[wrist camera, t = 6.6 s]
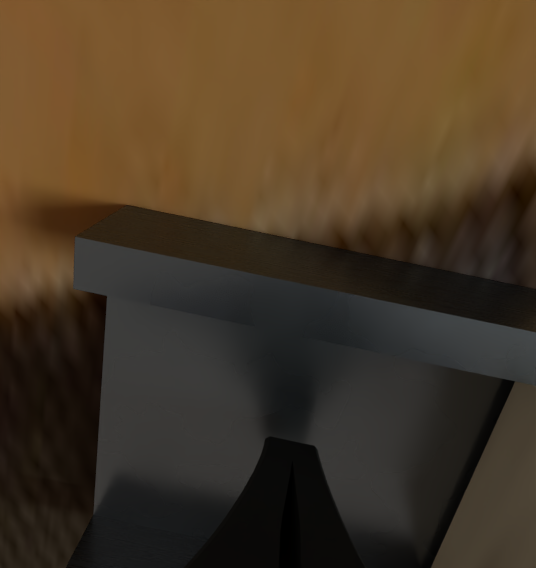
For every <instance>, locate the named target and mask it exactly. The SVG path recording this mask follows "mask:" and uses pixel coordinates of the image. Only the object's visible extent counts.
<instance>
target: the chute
mask: <svg viewBox="0 0 536 568" xmlns="http://www.w3.org/2000/svg"><path fill="white" fill-rule="evenodd" d="M73 289H77V290H81V291H86V292H91V293H96V294H101V295H105V296H107V307H106V323H105V339H104V355H103V371H102V386H101V402H100V418H99V434H98V450H97V466H96V482H95V497H94V513H93V517H92V519H91V520H90V522H89V524H88V526H87V528H86V530H85V532H84V534H83V536H82V538H81V540H80V541H79V543H78V545H77V547H76V549H75V551H74V553H73V555H72V557H71V559H70V561H69V562H68V564H67V566H66V568H184V567H185V566H186V564H187V563H188V562H189V561H190V560H191V559H192V558H193V557H194V556H195V554H196V553H197V552H198V551H199V550H200V549H201V547H202V546H203V545H204V544H205V543H206V542H207V540H208V539H209V538H210V537H211V535H212V534H213V533H214V532H215V530H216V529H217V528H218V526H219V525H220V524H221V522H222V521H223V520H224V518H225V517H226V515H227V514H228V512H229V511H230V509H231V508H232V506H233V505H234V503H235V502H236V500H237V499H238V497H239V496H240V494H241V493H242V491H243V489H244V487H245V486H246V484H247V482H248V480H249V478H250V477H251V475H252V473H253V471H254V469H255V467H256V465H257V463H258V460H259V458H260V456H261V453H262V450H263V446H264V441H265V439H266V438H268V437H270V436H271V437H276V438H281V439H285V440H290V441H295V442H299V443H304V444H309V445H313V446H315V447H316V448H317V450H318V454H319V457H320V461H321V464H322V468H323V471H324V474H325V477H326V480H327V483H328V486H329V488H330V491H331V494H332V496H333V499H334V501H335V504H336V506H337V508H338V511H339V513H340V516H341V518H342V520H343V522H344V525H345V527H346V529H347V531H348V533H349V535H350V537H351V539H352V541H353V544H354V546H355V548H356V549H357V551H358V553H359V555H360V557H361V559H362V561H363V563H364V565H365V566H366V568H431V566H432V564H433V562H434V560H435V557H436V555H437V553H438V551H439V549H440V546H441V544H442V542H443V540H444V538H445V535H446V533H447V531H448V529H449V526H450V524H451V522H452V520H453V518H454V515H455V513H456V511H457V509H458V507H459V504H460V502H461V500H462V498H463V496H464V493H465V491H466V489H467V487H468V485H469V482H470V480H471V478H472V476H473V473H474V471H475V469H476V467H477V465H478V462H479V460H480V458H481V456H482V454H483V451H484V449H485V447H486V445H487V443H488V440H489V438H490V436H491V434H492V432H493V429H494V427H495V425H496V423H497V420H498V418H499V416H500V414H501V412H502V409H503V407H504V405H505V403H506V401H507V398H508V396H509V394H510V392H511V390H512V387H513V385H514V383H515V381H516V382H521V383H525V384H530V385H535V386H536V289H531V288H527V287H522V286H517V285H512V284H507V283H502V282H498V281H493V280H488V279H483V278H478V277H473V276H468V275H464V274H459V273H454V272H449V271H444V270H439V269H435V268H430V267H425V266H420V265H415V264H410V263H405V262H401V261H396V260H391V259H386V258H381V257H376V256H372V255H367V254H362V253H357V252H352V251H347V250H342V249H338V248H333V247H328V246H323V245H318V244H313V243H309V242H304V241H299V240H294V239H289V238H284V237H279V236H275V235H270V234H265V233H260V232H255V231H250V230H246V229H241V228H236V227H231V226H226V225H221V224H216V223H212V222H207V221H202V220H197V219H192V218H187V217H183V216H178V215H173V214H168V213H163V212H158V211H153V210H149V209H144V208H139V207H134V206H129V205H126V206H125V207H123V208H121V209H120V210H118V211H116V212H115V213H113V214H111V215H110V216H108V217H107V218H105V219H103V220H102V221H100V222H98V223H97V224H95V225H93V226H92V227H90V228H89V229H87V230H85V231H84V232H82V233H80V234H79V235H77V236H75V254H74V284H73Z"/></svg>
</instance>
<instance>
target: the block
mask: <svg viewBox="0 0 536 568" xmlns="http://www.w3.org/2000/svg"><path fill="white" fill-rule="evenodd" d="M431 568H536V386H535V385H530V384H525V383H521V382H516V381H515V383H514V385H513V387H512V390H511V392H510V394H509V396H508V398H507V401H506V403H505V405H504V407H503V409H502V412H501V414H500V416H499V418H498V420H497V423H496V425H495V427H494V429H493V432H492V434H491V436H490V438H489V440H488V443H487V445H486V447H485V449H484V451H483V454H482V456H481V458H480V460H479V462H478V465H477V467H476V469H475V471H474V473H473V476H472V478H471V480H470V482H469V485H468V487H467V489H466V491H465V493H464V496H463V498H462V500H461V502H460V504H459V507H458V509H457V511H456V513H455V515H454V518H453V520H452V522H451V524H450V526H449V529H448V531H447V533H446V535H445V538H444V540H443V542H442V544H441V546H440V549H439V551H438V553H437V555H436V557H435V560H434V562H433V564H432V566H431Z"/></svg>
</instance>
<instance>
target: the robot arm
mask: <svg viewBox="0 0 536 568" xmlns="http://www.w3.org/2000/svg"><path fill="white" fill-rule="evenodd" d="M184 568H366V566H365V565H364V563H363V561H362V559H361V557H360V555H359V553H358V551H357V549H356V548H355V546H354V544H353V541H352V539H351V537H350V535H349V533H348V531H347V529H346V527H345V525H344V522H343V520H342V518H341V516H340V513H339V511H338V508H337V506H336V504H335V501H334V499H333V496H332V494H331V491H330V488H329V486H328V483H327V480H326V477H325V474H324V471H323V468H322V464H321V461H320V457H319V454H318V450H317V448H316V447H315V446H313V445H309V444H304V443H299V442H295V441H290V440H285V439H281V438H276V437H271V436H270V437H268V438H266V439H265V441H264V446H263V450H262V453H261V456H260V458H259V460H258V463H257V465H256V467H255V469H254V471H253V473H252V475H251V477H250V478H249V480H248V482H247V484H246V486H245V487H244V489H243V491H242V493H241V494H240V496H239V497H238V499H237V500H236V502H235V503H234V505H233V506H232V508H231V509H230V511H229V512H228V514H227V515H226V517H225V518H224V520H223V521H222V522H221V524H220V525H219V526H218V528H217V529H216V530H215V532H214V533H213V534H212V535H211V537H210V538H209V539H208V540H207V542H206V543H205V544H204V545H203V546H202V547H201V549H200V550H199V551H198V552H197V553H196V554H195V556H194V557H193V558H192V559H191V560H190V561H189V562H188V563H187V564H186V566H185V567H184Z"/></svg>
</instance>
